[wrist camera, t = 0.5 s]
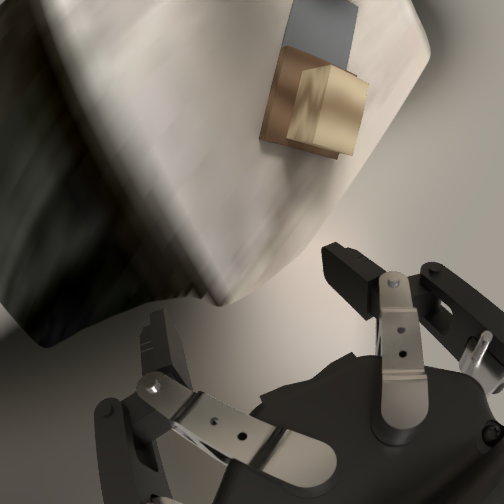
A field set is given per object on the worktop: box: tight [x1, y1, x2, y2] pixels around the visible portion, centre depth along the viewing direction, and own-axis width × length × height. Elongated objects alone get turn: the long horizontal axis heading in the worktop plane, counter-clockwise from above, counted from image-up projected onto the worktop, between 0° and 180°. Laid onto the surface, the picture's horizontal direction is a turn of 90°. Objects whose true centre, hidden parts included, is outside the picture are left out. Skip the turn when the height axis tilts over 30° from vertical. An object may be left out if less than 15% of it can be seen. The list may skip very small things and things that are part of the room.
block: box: [286, 65, 369, 156], centre depth 33 cm, size 10×6×7 cm, turn 167°
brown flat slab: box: [259, 45, 357, 160], centre depth 36 cm, size 14×12×2 cm
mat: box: [281, 0, 358, 70], centre depth 32 cm, size 14×11×1 cm
